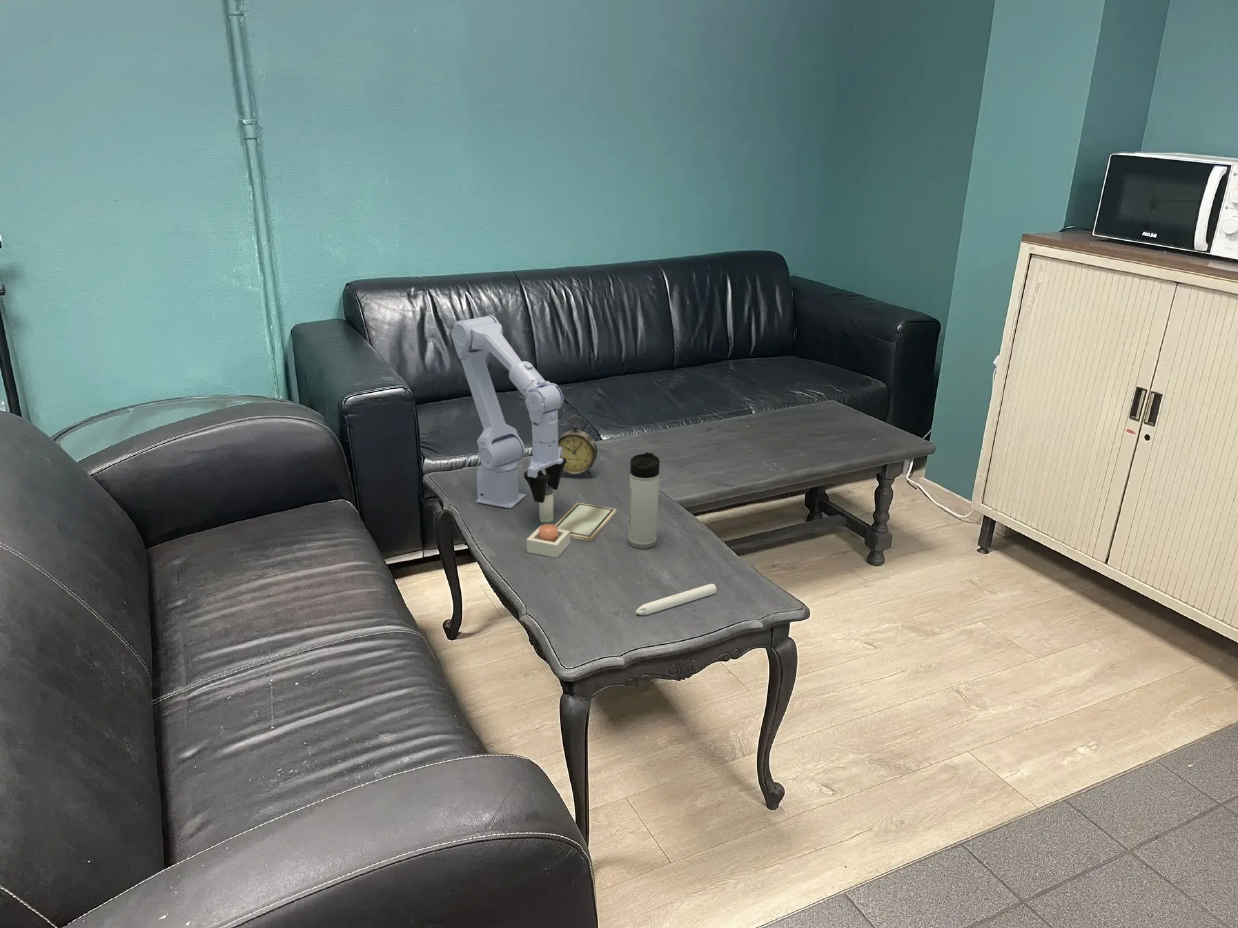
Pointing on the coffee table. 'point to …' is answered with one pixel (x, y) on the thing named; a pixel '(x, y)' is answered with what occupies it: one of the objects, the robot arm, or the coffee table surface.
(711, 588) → the marker
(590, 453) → the alarm clock
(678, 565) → the coffee table surface
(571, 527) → the picture frame
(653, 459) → the travel mug
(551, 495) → the cylinder
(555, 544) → the button housing
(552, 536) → the button
